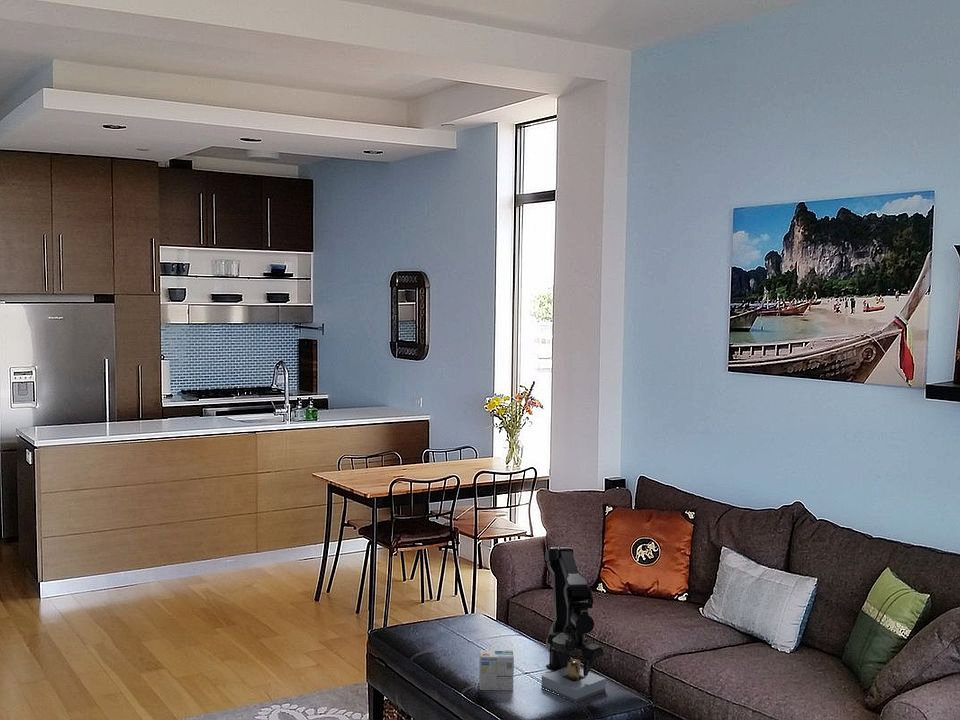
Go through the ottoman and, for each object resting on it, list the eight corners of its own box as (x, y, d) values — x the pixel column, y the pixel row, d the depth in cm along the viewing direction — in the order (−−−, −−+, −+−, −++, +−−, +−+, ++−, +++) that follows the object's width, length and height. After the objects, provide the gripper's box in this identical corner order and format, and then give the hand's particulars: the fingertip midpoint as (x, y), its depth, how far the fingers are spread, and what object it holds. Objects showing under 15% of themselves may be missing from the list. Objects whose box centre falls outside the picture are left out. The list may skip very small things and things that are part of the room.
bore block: (541, 688, 321) (541, 675, 320) (571, 677, 330) (571, 665, 330) (575, 702, 311) (575, 689, 310) (605, 690, 320) (605, 678, 320)
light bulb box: (512, 682, 325) (513, 649, 324) (513, 691, 318) (514, 657, 317) (478, 682, 324) (479, 648, 323) (479, 690, 318) (480, 656, 317)
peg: (564, 686, 321) (564, 661, 320) (572, 682, 323) (573, 658, 323) (573, 690, 318) (574, 664, 317) (582, 686, 320) (583, 661, 320)
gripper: (536, 620, 320) (534, 669, 321) (581, 636, 306) (579, 687, 308) (560, 612, 328) (558, 660, 329) (605, 628, 314) (603, 678, 315)
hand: (574, 671), depth 320 cm, fingers open, 9 cm apart
